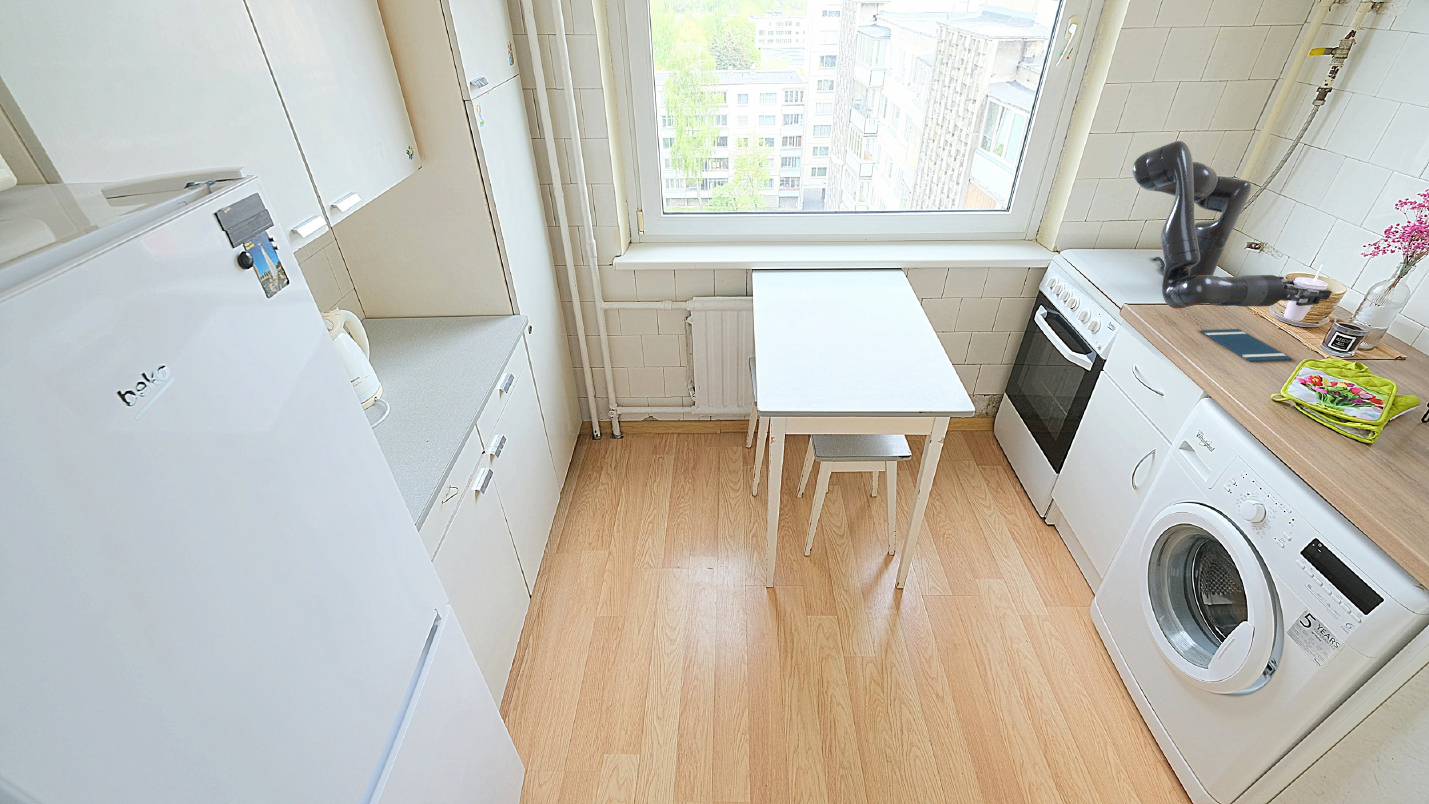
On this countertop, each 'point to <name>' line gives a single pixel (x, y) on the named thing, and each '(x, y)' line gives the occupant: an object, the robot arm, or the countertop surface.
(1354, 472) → the countertop surface
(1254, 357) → the tea towel
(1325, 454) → the countertop surface
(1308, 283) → the smoothie
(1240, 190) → the robot arm
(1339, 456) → the countertop surface
